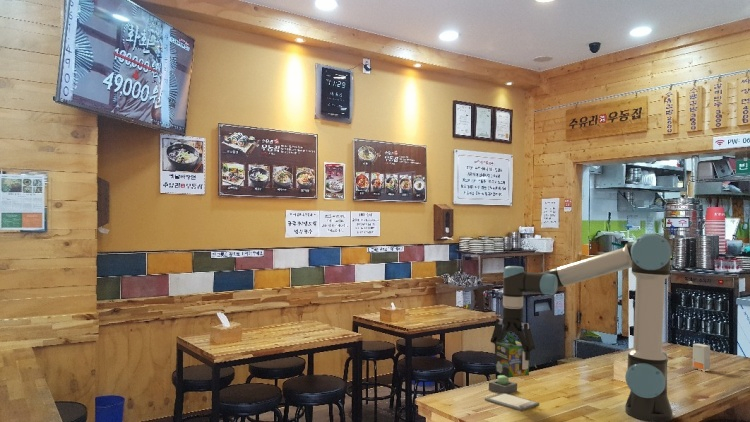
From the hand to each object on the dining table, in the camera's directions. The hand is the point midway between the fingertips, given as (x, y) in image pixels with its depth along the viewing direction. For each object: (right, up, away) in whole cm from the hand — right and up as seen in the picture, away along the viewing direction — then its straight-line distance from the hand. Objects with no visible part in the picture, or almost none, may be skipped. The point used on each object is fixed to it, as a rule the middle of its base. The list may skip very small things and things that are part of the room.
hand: (511, 365), depth 209 cm
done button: (0, -12, +15) cm, 19 cm away
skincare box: (+103, -17, +53) cm, 117 cm away
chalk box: (0, -3, 0) cm, 3 cm away
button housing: (0, -14, +14) cm, 20 cm away
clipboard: (0, -14, 0) cm, 14 cm away
